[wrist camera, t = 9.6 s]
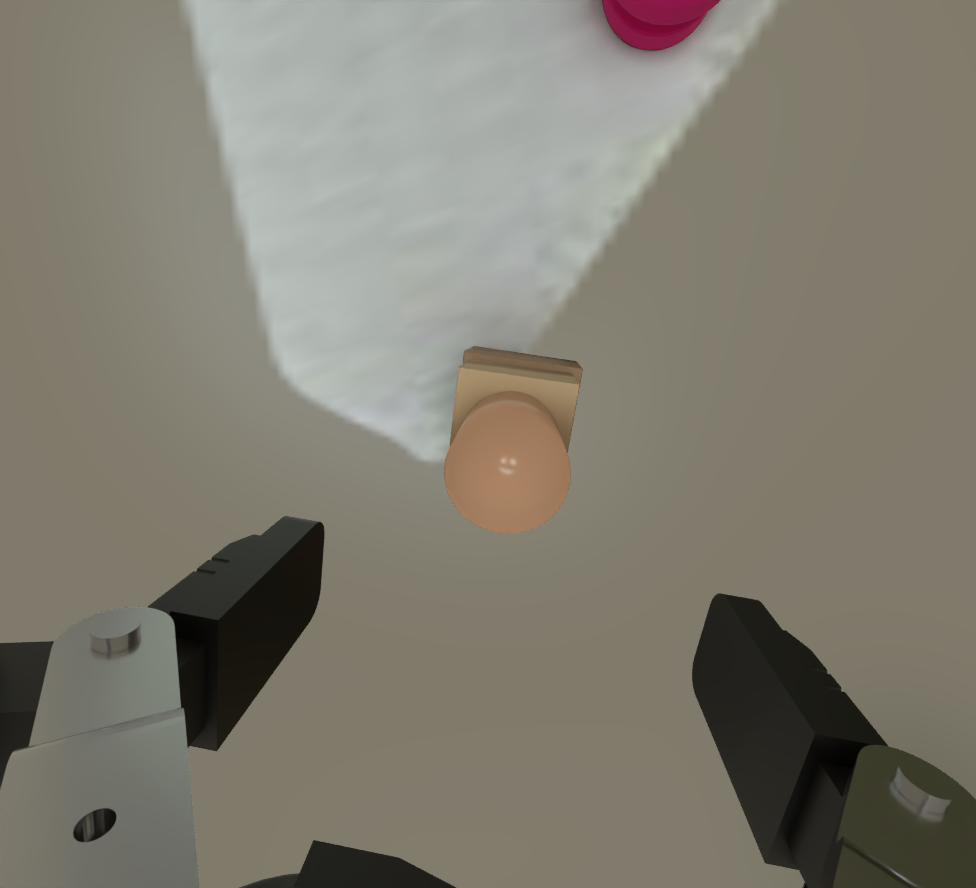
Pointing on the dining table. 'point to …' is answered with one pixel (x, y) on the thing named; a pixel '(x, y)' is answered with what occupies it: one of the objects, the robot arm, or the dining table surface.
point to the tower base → (524, 361)
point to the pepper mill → (655, 20)
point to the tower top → (498, 377)
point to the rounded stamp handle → (508, 464)
